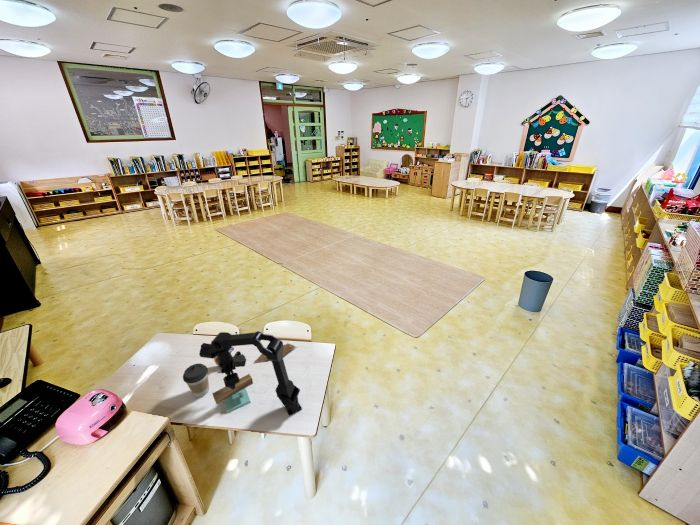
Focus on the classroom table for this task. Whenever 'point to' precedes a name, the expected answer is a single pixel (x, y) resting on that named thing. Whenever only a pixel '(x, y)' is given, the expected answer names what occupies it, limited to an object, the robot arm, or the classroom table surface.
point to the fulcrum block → (237, 400)
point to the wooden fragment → (286, 350)
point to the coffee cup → (197, 379)
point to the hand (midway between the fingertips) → (231, 382)
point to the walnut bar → (228, 392)
